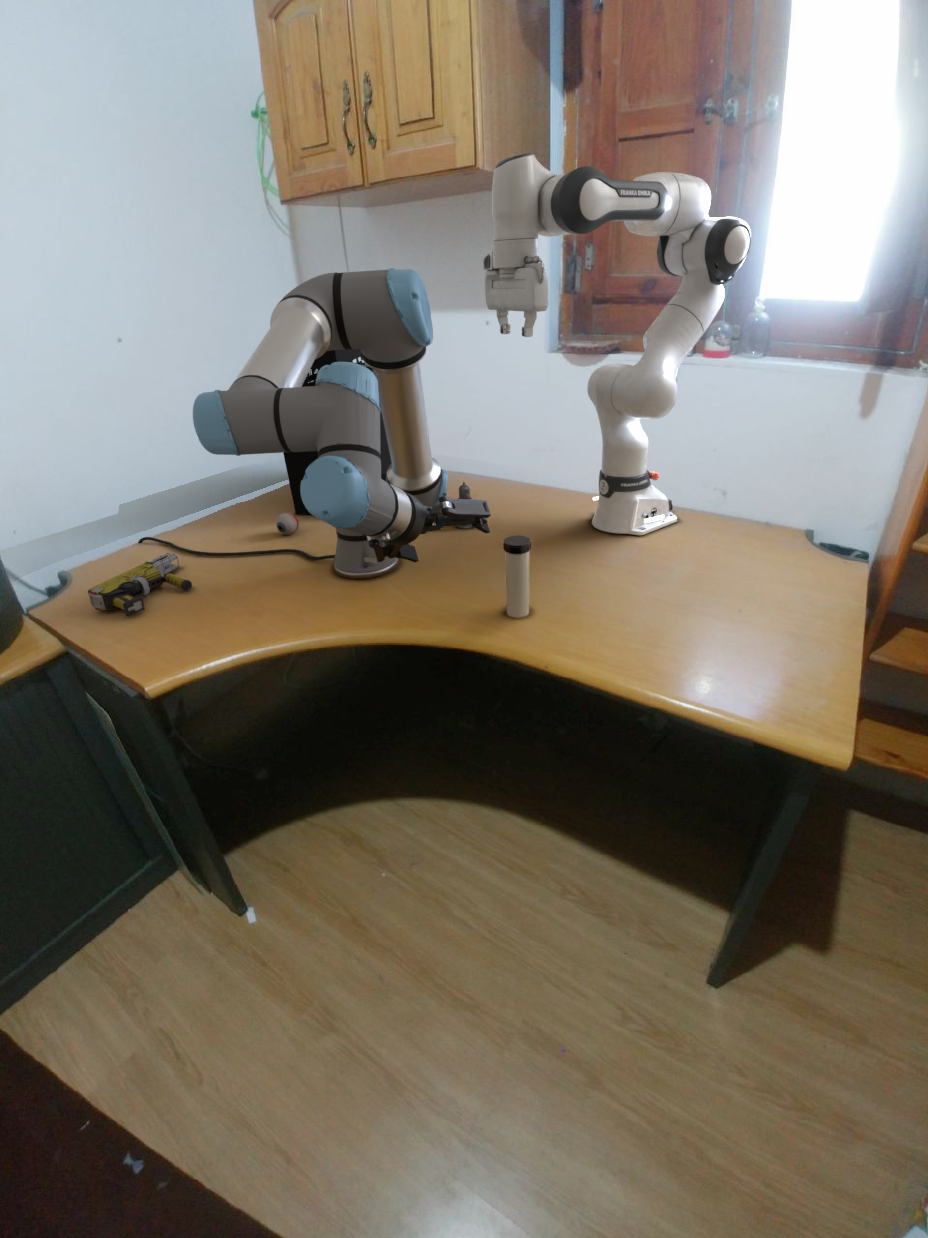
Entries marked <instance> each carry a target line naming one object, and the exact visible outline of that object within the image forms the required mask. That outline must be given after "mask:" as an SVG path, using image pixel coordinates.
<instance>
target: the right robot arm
mask: <svg viewBox="0 0 928 1238" xmlns="http://www.w3.org/2000/svg"><path fill="white" fill-rule="evenodd" d="M711 200H712V194H711V189H710V186H709V185H708V183H707V182H706V181H705V180H704V179H703V178H701V177H698V176H695V175H692V174H689V173H682V172H675V171H673V172H672V171H660V172H659V171H658V172H651V173H646V174H641V175H640V176H637V177H635V178H633V179H632V180H624V179H623V180H621V179H613V178H610V177H609V176H607V175H606V174H604V173H603V172H601V171H600V170H599V169H596V168H594V167H592V166H585V165H584V166H579V167H577V168H575V169H573V170H569V171H568V172H566V173H565V172H564V173H562V174H559V175H558V174H556V173H554V172H552V171H551V170H549V169H547V168H546V167H545V166H543V165H542V163H540V161H539V160H538V159H537V157H536V156H535V153H531V152H525V153H520V154H517V155H513V156H509V157H507V158H504V159H501V160H500V161H499V162H497V164H496V165H495V167H494V170H493V174H492V183H491V216H492V220H493V227H494V228H493V235H492V248H491V249H490V250H489V252H488V253H487V254H486V255H485V256H484V257H483V258H482V269H483V271H485V273H484V297H485V304H486V306H487V307H486V308H487V309H488V310H492V311H496V318H497V321H498V323H499V324H498V325H499V333H500V335H510V334H511V324H509V318H508V316H509V312H523V318H524V323H523V326H522V327H521V336H522V337H523V338H531V337H533V335H534V326H535V324H536V320H537V318H538V316H537V315H538V314H537V313H540V312H546V311H547V310H548V308H549V307H548V306H549V303H550V297H549V296H550V295H549V279H548V278H549V277H548V273H547V269H546V268H545V263H544V262H543V260H542V258H541V256H539V236H542V237H546V238H547V237H549V238H550V237H557V236H558V237H560V236H566V235H567V236H568V235H585V234H586V235H587V234H589V233H592V232H594V231H595V230H597V229H598V228H600V227H602V226H603V225H605V224H606V223H608V222H623V224H624V226H625V227H626V230H628V232H629V233H631V234H634V235H639V236H645V237H658V242H657V248H656V259H657V264H658V267H659V269H660V270H661V271H662V272H663V273H664V274H666V275H669V276H672V277H682V279H681V283H680V285H679V287H678V289H677V291H676V292H675V294H674V295H673V296H672V297H671V298H670V300H669V301H668V302H667V303H666V305H665V306H664V307H663V308H662V310H661V311H660V313H659V314H658V315H657V316H656V318H655V319H654V320H653V322H652V323H651V324H650V326H649V327H647V330H646V331H645V332H644V335H643V337H642V345H643V350H644V351H643V353H642V356H641V358H640V359H639V360H638V361H637V363H635V364H625V363H619V362H615V363H614V362H613V363H607V364H604V365H601V366H597V368H595V369H594V371H593V372H591V374H590V376H589V378H588V380H587V395H588V398H589V399H590V401H591V402H592V404H593V406H594V408H595V411H596V414H597V417H598V418H597V419H598V421H599V427H600V432H601V440H602V447H601V448H602V449H601V450H602V451H601V468H600V470H599V474H598V492H599V493H598V496H593V497H592V500H593V501H597V502H596V507H595V511H594V514H593V517H592V520H591V525H592V526H593V527H594V528H595V529H597V530H599V531H601V532H605V533H611V534H623V535H625V534H626V535H632V536H633V535H634V536H645V535H646V534H650V533H652V532H654V531H657V530H660V529H662V528H665V527H668V526H670V525H672V524H675V523H677V522H678V516H677V515H676V514H675V513H674V512H672V511H673V507H674V506H673V500H671V499H670V498H668V497H667V496H666V495H665V494H664V493H663V492H661V491H660V490H659V489H658V488H656V487H655V486H654V485H652V483H651V480H653V481H658V479H659V478H660V473H659V472H657V471H654V470H651V471H649V470H648V469H647V466H648V458H649V457H648V455H649V446H650V441H649V437H648V435H647V434H646V432H645V431H644V429H643V427H642V424H641V420H656V419H662V418H664V417H666V416H667V415H669V413H670V412H671V411H672V410H673V408H674V406H675V405H676V402H677V399H678V395H679V389H678V388H679V387H678V383H677V377H678V373H679V371H680V368H681V366H682V365H683V363H684V361H685V359H686V358H687V357H688V355H689V354H690V353H691V352H692V350H693V348H694V347H695V346H696V345H697V343H698V342H699V340H701V338H702V337H703V336H704V335H705V333H706V331H707V330H708V328H709V327H710V325H711V324H712V322H713V321H714V319H715V318H716V316H717V315H718V313H719V311H720V309H721V307H722V305H723V303H724V300H725V288H724V285H725V284H727V283H729V282H730V281H732V280H733V279H734V278H735V275H736V274H737V271H738V270H739V269H740V268H741V267H742V265H743V263H744V262H745V260H746V258H747V256H748V254H749V252H750V249H751V243H752V231H751V228H750V225H749V224H748V223H747V222H746V221H745V220H743V219H741V218H738V217H736V216H724V217H710V215H709V210H710V207H711Z"/></svg>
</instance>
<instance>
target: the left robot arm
mask: <svg viewBox="0 0 928 1238" xmlns="http://www.w3.org/2000/svg"><path fill="white" fill-rule="evenodd" d="M431 315H432V312H431V307H430V302H429V296H428V293H427V290H426V287H425V284H424V281H423V279H422V277H421V274H419V273H418V271H416V270H414V269H410V268H407V269H405V268H403V269H399V268H397V269H396V268H394V267H389V268H388V269H376V270H361V271H345V272H326V273H323V274H319V275H317V276H314V277H311V278H310V279H307V280H306V281H304V282H302V283H301V284H298V285H297V286H296V287H294V288H293V289H291V290H290V291H289V292H288V293H286V294H285V295H284V296H283V297H282V299H280V300H279V302H278V303H277V304H276V305H275V307H274V308H273V310H272V312H271V314H270V320H269V329H268V331H267V332H266V333H265V335H264V336H263V338H262V339H261V341H260V342H259V344H258V345H257V347H256V348H255V350H254V352H253V353H252V354H251V356H250V357H249V359H248V360H247V361H246V362H245V364H244V366H243V367H242V368H241V370H240V372H239V373H238V374H237V376H236V378H235V379H234V380H233V382H232V384H231V385H230V386H229V388H228V389H227V390H220V389H215V390H214V391H203V392H202V393H199V394H198V395H197V396H196V398H195V400H194V402H193V405H192V423H193V428H194V430H195V434H196V436H197V438H198V441H199V443H200V445H201V446H202V447H203V448H204V450H206V452H208V453H210V454H212V455H217V456H218V455H221V456H236V457H239V456H243V455H263V454H280V453H283V452H306V451H318V459H316V460H315V461H314V462H312V463H311V464H310V465H309V466H308V468H307V469H306V471H305V476H304V478H303V480H302V481H301V489H300V492H301V498H302V501H303V503H304V505H305V507H306V509H307V510H308V511H309V512H310V513H311V514H310V515H311V516H313V517H314V518H316V519H318V520H319V521H321V522H322V523H323V522H324V523H326V524H327V525H330V526H332V527H334V528H335V532H336V539H337V540H336V548H335V554H327V555H322V556H313V555H311V554H309V553H307V552H305V551H302V550H300V549H296V548H281V549H280V548H279V549H269V550H254V551H253V550H251V551H239V552H238V551H237V552H212V551H211V552H209V551H199V550H194V549H193V550H192V549H188V548H185V547H181V546H178V545H176V544H174V543H172V542H171V541H167V540H163V539H159V538H156V537H151V536H144V537H141V538H140V539H139V540H138V542H137V543H138V544H142V543H143V542H144V541H153V542H155V543H160V544H163V545H167V546H169V547H171V548H173V549H176V550H178V551H181V552H184V553H189V554H193V555H198V556H209V557H236V556H237V557H238V556H239V557H240V556H252V555H268V554H280V553H295V554H300V555H302V556H304V557H306V558H308V559H310V560H313V561H322V560H328V559H333V565H334V566H333V568H334V572H335V573H336V574H337V575H338V576H340V577H343V578H347V579H352V580H365V579H367V580H368V579H374V578H378V577H381V576H384V575H386V574H389V573H391V572H392V571H394V570H395V569H396V568H397V567H398V566H399V559H401V560H405V561H409V562H412V563H417V562H420V559H419V557H418V552H417V549H416V546H414V545H412V544H411V543H413V542H414V541H415V540H417V538H418V537H419V536H420V535H425V534H426V533H430V532H439V531H441V530H442V529H443V528H446V527H447V528H448V527H453V526H454V527H455V526H456V527H457V525H466V524H472V528H474V529H476V530H478V531H480V532H482V533H483V534H485V535H487V534H490V533H491V531H490V527H489V523H488V522H489V521H488V518H490V517H491V516H492V513H491V510H490V507H489V505H488V501H487V499H458V498H452V497H449V496H448V481H449V480H448V479H449V472H448V471H447V470H445V469H443V468H441V467H440V463H439V462H438V461H437V459H435V458H434V457H433V456H432V449H431V442H430V433H429V425H428V417H427V411H426V401H425V395H424V388H423V380H422V372H421V365H420V364H421V363H420V362H421V361H422V360H423V359H424V358H425V356H426V354H427V347H428V346H431V344H432V343H433V340H434V329H433V328H434V327H433V320H432V316H431ZM344 349H346V350H350V349H360V350H361V355H362V359H363V360H362V362H363V363H365V364H366V365H368V366H369V367H371V368H373V371H374V374H373V372H372V371H370V370H369V369H368V368H366V367H364V366H362V365H363V364H362V365H359V364H356V363H357V362H353V363H351V362H334V363H332V364H331V365H325V366H323V367H322V368H321V369H320V370H319V371H318V370H317V371H318V374H317V379H316V383H315V384H316V386H309V387H302V385H303V383H304V381H305V379H306V377H307V374H308V372H309V373H310V371H309V370H310V368H311V366H312V364H313V362H314V360H315V359H317V358H319V357H321V356H322V355H323V354H324V353H325V352H326V351H331V350H344ZM379 402H380V406H379ZM380 407H381V408H380ZM381 412H382V417H383V422H384V427H385V432H386V437H387V442H388V447H389V452H390V457H391V464H390V466H389V467H388V470H387V473H381V460H380V414H381Z"/></svg>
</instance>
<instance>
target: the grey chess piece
mask: <svg viewBox="0 0 928 1238" xmlns="http://www.w3.org/2000/svg"><path fill="white" fill-rule="evenodd" d="M470 489H471V488H470V486H469V485H467V484H466V482H465V481H463V482H462V485H460V486H459V487H458V498H457V499H471V500H473V499H472V496H471V492H470V491H471V490H470ZM456 527H457V528H459V529H471V528H473V527H472V524H466V525H457V526H456Z"/></svg>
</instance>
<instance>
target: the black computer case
mask: <svg viewBox="0 0 928 1238" xmlns="http://www.w3.org/2000/svg"><path fill="white" fill-rule="evenodd" d="M359 358H360V360H359ZM354 360H356V362H355V363H356V364H359V365H362V366H364V367H366V368H368V369H369V370H370V371H372V372H373V374H374V371H373V368H371V367H369V366H368V365H366V364H365V363H364V362H363V359H362V355H361V350H360V349H350V350H346V349H344V350H331V351H326V352H325V353H324V354H323V355H322V356H321V357H319V358H317V359H315V360H314V362H313V364H312V366H311V368H310V370H309V372H308V374H307V377H306V379H305V381H304V383H303V385H302V387H309V386H316V384H315V383H316V379H317V374H318V371H319V370H320V369H321V368H322V367H323V366H325V365H331V364H332V363H334V362H351V363H354ZM379 406H380V402H379ZM380 408H381V407H380ZM282 453H283V459H284V463H285V464H284V465H285V468H286V473H287V478H288V483H289V484H288V485H289V488H290V493H291V500H292V503H293V508H294V515H295V514H296V515H312V514H311V513H310V512H309V511H308V510H307V509H306V507H305V505H304V503H303V501H302V498H301V492H300V489H301V481H302V480H303V478H304V476H305V471H306V469H307V468H308V466H309V465H310V464H311V463H312V462H314V461H315V460H316V459H318V451H306V452H282ZM380 460H381V473H387V470H388V467H389V466H390V464H391V457H390V452H389V447H388V442H387V437H386V432H385V427H384V422H383V417H382V412H381V414H380Z"/></svg>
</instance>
